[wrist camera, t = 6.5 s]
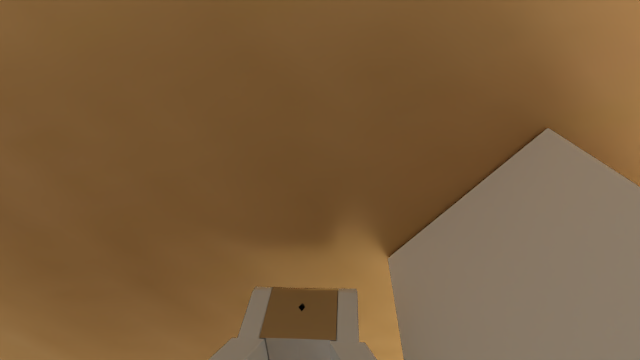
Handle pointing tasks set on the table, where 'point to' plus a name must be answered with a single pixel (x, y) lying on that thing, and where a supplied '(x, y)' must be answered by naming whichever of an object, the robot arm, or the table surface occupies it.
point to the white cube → (527, 265)
